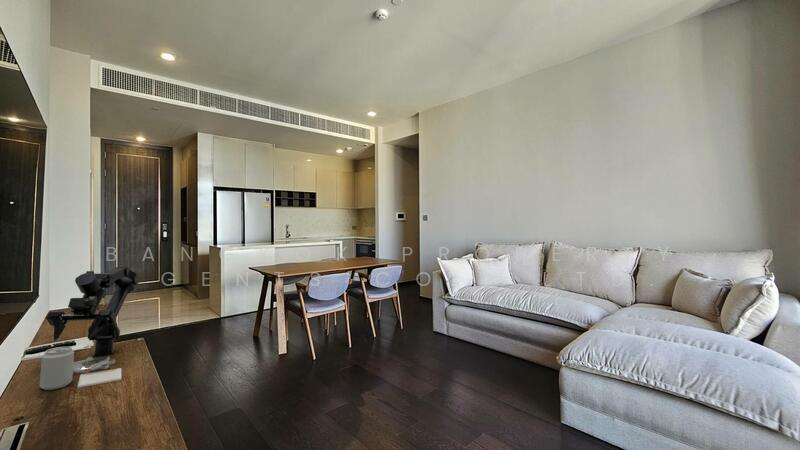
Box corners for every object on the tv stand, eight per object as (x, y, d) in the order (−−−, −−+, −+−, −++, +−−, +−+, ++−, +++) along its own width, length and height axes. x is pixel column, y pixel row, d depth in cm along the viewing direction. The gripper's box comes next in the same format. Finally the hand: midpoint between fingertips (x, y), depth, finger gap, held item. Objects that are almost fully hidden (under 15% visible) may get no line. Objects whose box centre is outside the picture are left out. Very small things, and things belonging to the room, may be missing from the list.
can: (50, 392, 106) (54, 353, 107) (32, 389, 108) (36, 351, 108) (77, 382, 113) (80, 346, 114) (60, 380, 115) (63, 344, 116)
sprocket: (61, 364, 128) (61, 359, 128) (115, 356, 138) (115, 352, 138) (55, 378, 116) (56, 373, 116) (115, 369, 126) (115, 364, 126)
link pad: (80, 376, 118) (80, 374, 118) (121, 369, 125) (121, 367, 125) (77, 387, 110) (77, 385, 110) (121, 379, 117) (121, 377, 117)
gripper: (51, 288, 121) (26, 328, 110) (115, 288, 127) (98, 325, 116) (62, 306, 128) (40, 345, 117) (122, 305, 134) (107, 341, 123)
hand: (71, 339), depth 118 cm, fingers open, 9 cm apart
